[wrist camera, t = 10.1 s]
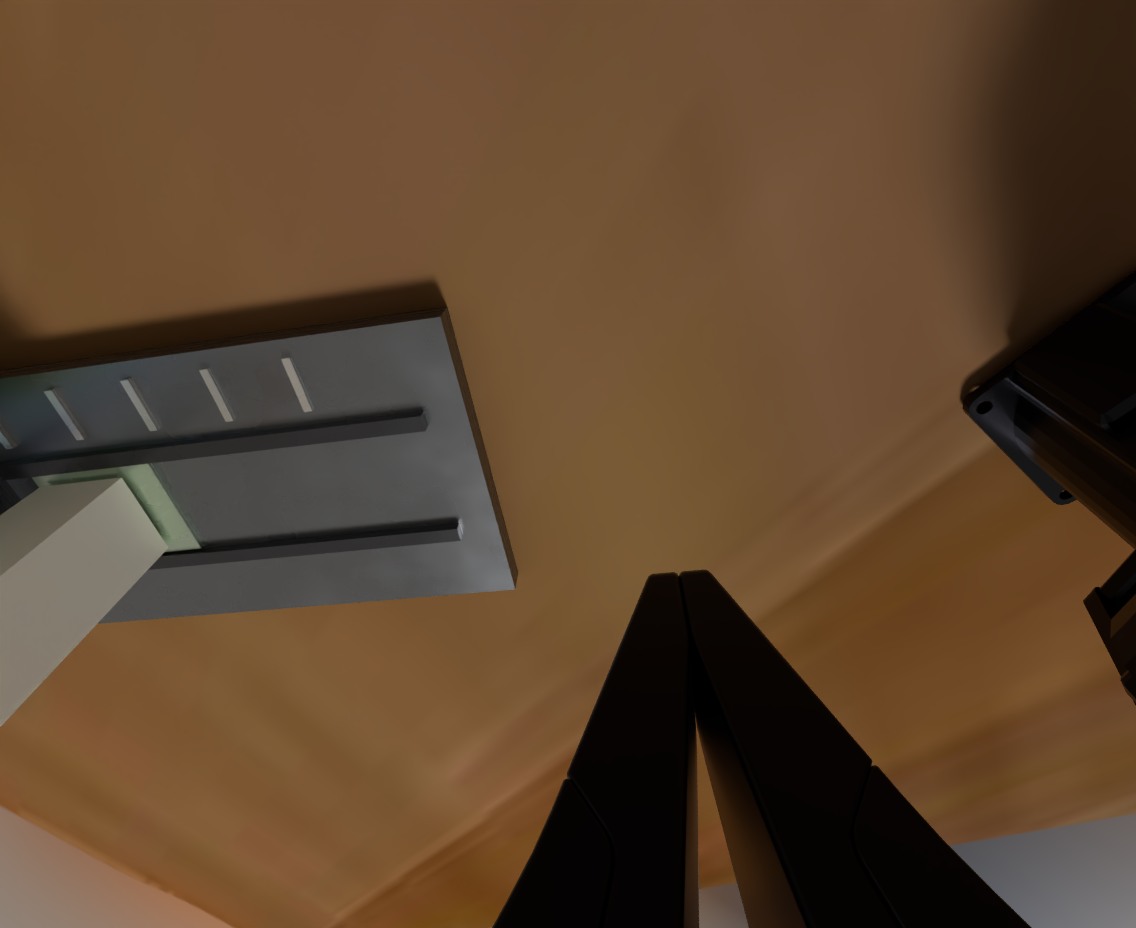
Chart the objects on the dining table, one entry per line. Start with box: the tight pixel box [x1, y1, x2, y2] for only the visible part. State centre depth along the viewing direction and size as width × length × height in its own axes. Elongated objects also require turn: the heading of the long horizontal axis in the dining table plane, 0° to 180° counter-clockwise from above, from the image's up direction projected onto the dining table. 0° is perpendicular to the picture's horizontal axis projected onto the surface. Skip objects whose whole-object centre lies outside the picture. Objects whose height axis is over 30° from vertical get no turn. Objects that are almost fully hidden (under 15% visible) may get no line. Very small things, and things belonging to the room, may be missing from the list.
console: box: [0, 307, 518, 624], centre depth 23 cm, size 20×12×3 cm, turn 99°
